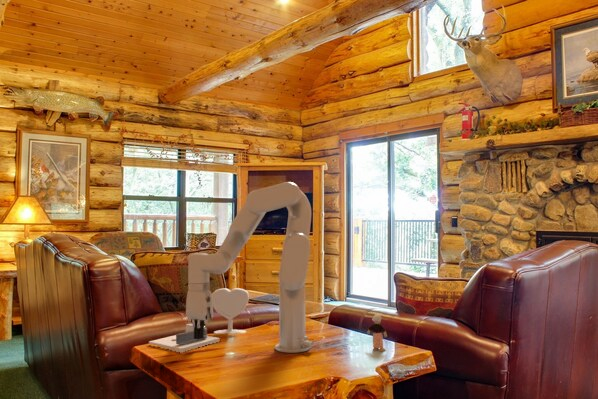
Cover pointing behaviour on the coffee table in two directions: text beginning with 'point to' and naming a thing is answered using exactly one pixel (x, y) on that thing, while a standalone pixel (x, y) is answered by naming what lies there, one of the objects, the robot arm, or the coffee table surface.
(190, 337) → the lock bar
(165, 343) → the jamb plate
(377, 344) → the grandmother figurine
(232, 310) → the heart sculpture
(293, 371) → the coffee table surface
